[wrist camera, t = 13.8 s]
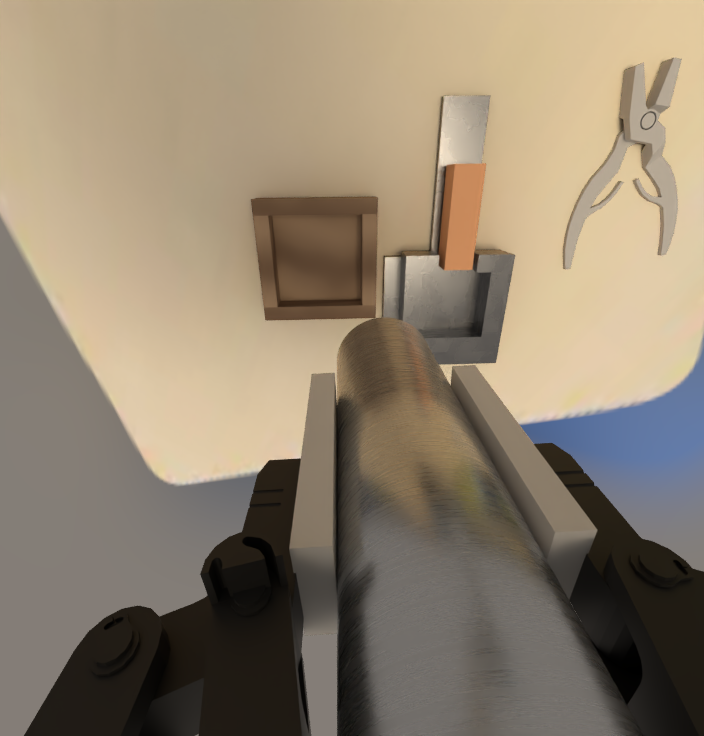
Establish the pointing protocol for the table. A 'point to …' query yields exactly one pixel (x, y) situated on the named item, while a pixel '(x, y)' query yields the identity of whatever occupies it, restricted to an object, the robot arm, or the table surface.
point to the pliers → (650, 132)
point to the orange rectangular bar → (460, 215)
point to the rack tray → (317, 256)
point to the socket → (452, 287)
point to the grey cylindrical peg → (444, 570)
